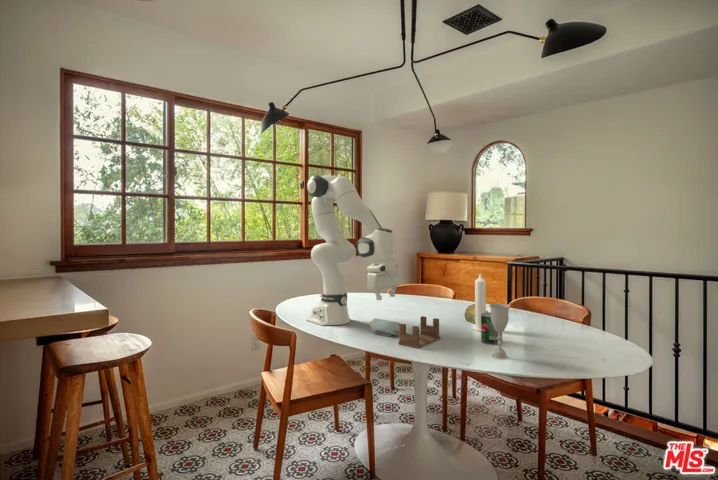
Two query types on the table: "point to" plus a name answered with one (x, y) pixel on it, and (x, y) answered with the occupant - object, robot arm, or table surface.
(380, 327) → the paper roll
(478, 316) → the candle
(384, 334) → the rest strips
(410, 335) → the roll holder
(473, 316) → the pastry
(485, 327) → the canned tomato
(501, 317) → the chalice
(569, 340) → the table surface
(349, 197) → the robot arm
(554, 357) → the table surface
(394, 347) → the table surface
